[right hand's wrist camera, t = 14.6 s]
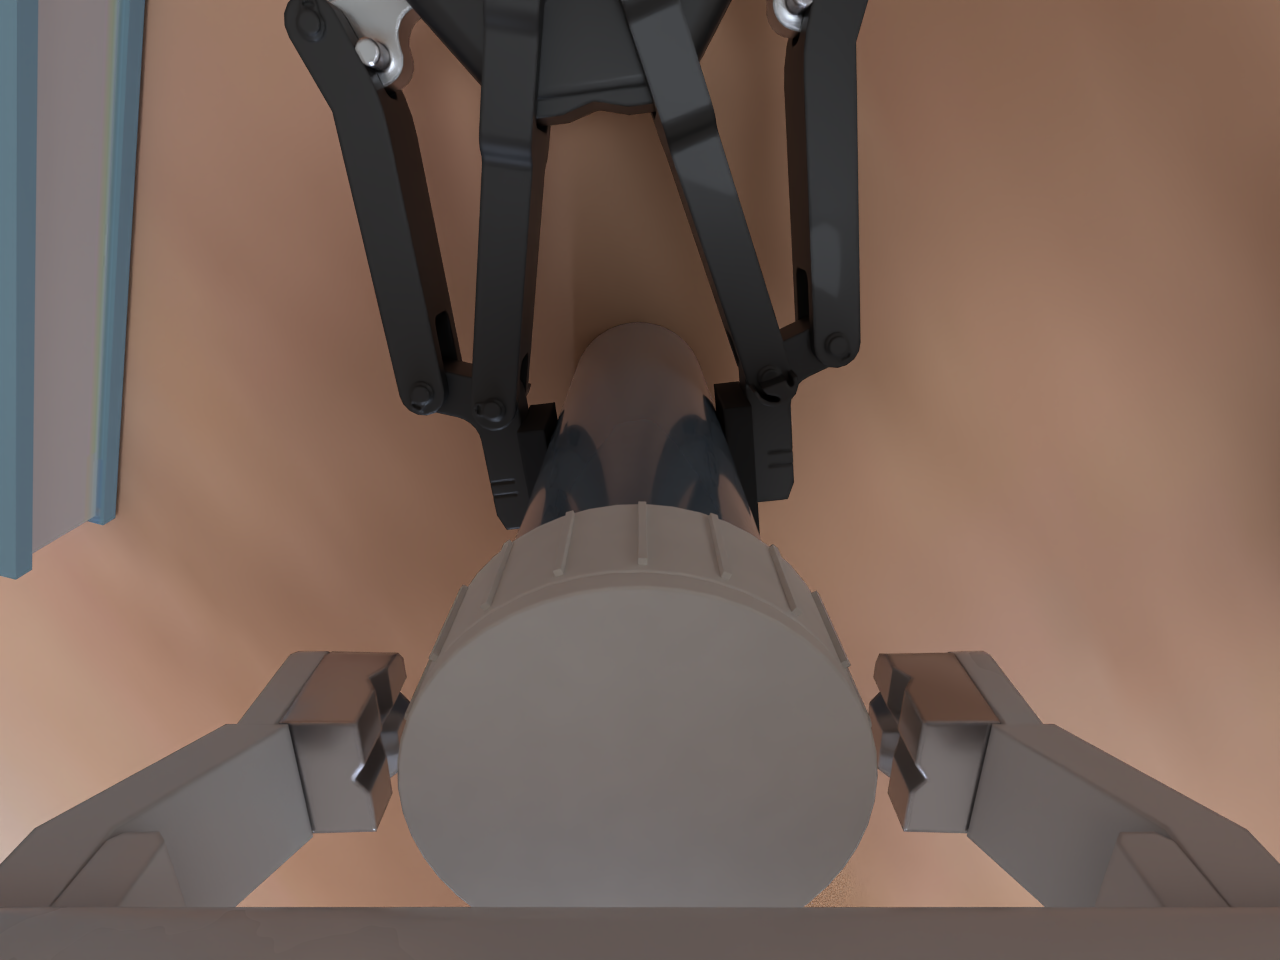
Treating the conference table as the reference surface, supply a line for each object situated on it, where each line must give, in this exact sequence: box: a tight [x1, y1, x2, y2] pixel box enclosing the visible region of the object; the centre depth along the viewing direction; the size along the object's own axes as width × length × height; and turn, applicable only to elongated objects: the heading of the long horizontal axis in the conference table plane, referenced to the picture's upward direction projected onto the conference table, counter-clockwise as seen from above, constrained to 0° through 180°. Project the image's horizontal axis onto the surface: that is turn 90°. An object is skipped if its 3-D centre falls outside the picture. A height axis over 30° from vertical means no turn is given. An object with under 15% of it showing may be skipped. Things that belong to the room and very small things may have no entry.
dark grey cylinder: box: [515, 322, 761, 541], centre depth 18 cm, size 5×5×20 cm
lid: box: [397, 501, 878, 907], centre depth 10 cm, size 6×6×2 cm
